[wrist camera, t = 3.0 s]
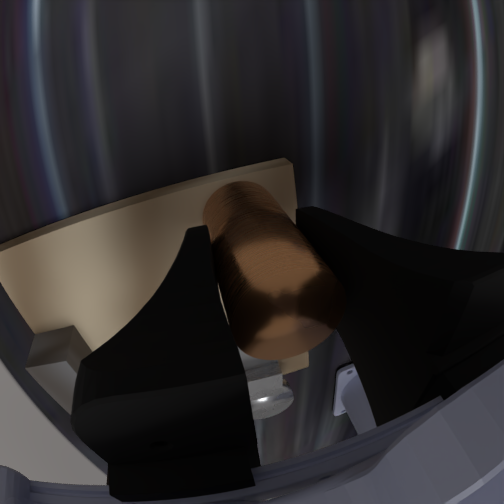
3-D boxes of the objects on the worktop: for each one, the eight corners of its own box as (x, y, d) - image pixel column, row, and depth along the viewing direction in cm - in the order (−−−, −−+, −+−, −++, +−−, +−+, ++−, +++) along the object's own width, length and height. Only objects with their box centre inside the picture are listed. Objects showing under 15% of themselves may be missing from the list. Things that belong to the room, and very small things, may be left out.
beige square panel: (284, 157, 13) (317, 183, 10) (303, 357, 21) (322, 395, 18) (-6, 246, 12) (-35, 288, 9) (107, 405, 19) (106, 445, 16)
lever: (283, 386, 20) (314, 463, 15) (233, 399, 19) (256, 479, 14) (279, 174, 12) (359, 255, 7) (191, 188, 12) (214, 286, 7)
